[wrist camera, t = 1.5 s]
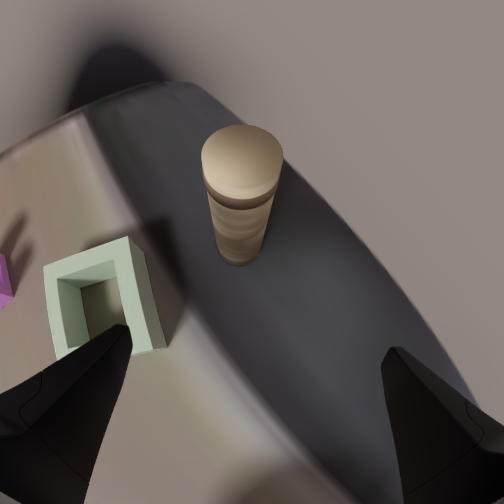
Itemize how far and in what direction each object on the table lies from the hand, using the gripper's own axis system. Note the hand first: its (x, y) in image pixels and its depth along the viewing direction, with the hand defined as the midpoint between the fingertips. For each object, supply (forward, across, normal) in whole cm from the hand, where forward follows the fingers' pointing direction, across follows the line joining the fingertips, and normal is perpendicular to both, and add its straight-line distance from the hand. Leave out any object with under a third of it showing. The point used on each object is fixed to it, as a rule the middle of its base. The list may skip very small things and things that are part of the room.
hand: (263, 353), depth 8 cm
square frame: (+10, +12, +8) cm, 18 cm away
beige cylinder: (+15, +2, +3) cm, 16 cm away
